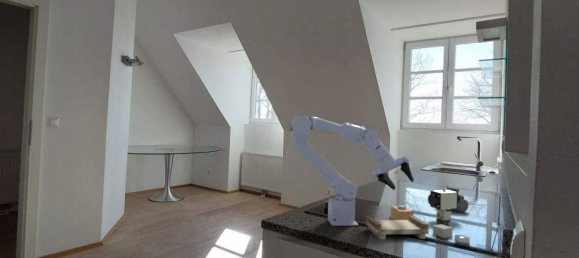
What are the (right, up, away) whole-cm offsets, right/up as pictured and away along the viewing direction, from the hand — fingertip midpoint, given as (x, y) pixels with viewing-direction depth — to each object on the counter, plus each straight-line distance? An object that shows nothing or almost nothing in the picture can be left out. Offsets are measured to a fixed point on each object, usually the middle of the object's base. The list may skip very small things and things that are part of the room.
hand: (403, 184), depth 116 cm
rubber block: (+8, -14, -14) cm, 21 cm away
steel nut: (+10, -14, -21) cm, 27 cm away
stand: (-7, -14, -13) cm, 21 cm away
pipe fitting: (+29, -15, +20) cm, 38 cm away
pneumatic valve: (+17, -15, +5) cm, 23 cm away
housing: (-1, -14, 0) cm, 14 cm away
